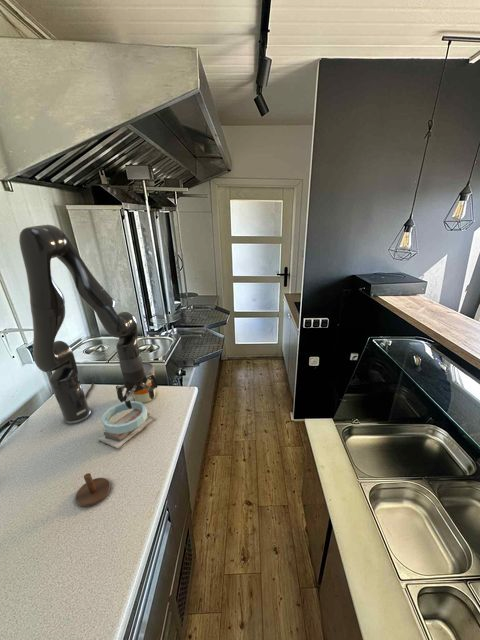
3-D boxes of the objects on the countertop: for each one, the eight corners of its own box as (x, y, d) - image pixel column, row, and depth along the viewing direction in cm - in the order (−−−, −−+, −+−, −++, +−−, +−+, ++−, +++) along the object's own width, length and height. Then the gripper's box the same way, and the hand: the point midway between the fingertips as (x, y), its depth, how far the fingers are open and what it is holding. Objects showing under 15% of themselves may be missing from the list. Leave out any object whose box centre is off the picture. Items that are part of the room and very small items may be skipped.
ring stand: (73, 492, 87) (65, 475, 83) (105, 475, 92) (98, 458, 89) (81, 513, 81) (73, 495, 77) (114, 493, 86) (108, 475, 83)
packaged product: (134, 403, 118) (152, 409, 114) (136, 413, 120) (154, 419, 117) (95, 431, 104) (114, 439, 100) (99, 441, 106) (118, 449, 102)
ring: (98, 419, 110) (96, 412, 108) (137, 402, 119) (136, 396, 117) (112, 439, 100) (109, 432, 98) (153, 420, 109) (152, 413, 107)
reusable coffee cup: (127, 395, 132) (119, 367, 126) (154, 386, 139) (148, 359, 132) (134, 408, 123) (126, 379, 116) (163, 398, 130) (157, 369, 123)
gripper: (146, 357, 111) (154, 391, 118) (108, 370, 102) (118, 406, 109) (155, 363, 106) (162, 399, 113) (115, 377, 97) (126, 415, 105)
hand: (141, 402), depth 111 cm, fingers open, 8 cm apart
